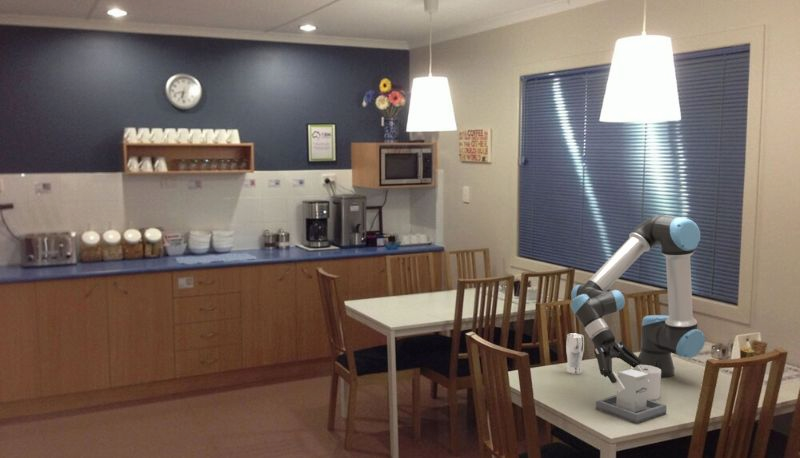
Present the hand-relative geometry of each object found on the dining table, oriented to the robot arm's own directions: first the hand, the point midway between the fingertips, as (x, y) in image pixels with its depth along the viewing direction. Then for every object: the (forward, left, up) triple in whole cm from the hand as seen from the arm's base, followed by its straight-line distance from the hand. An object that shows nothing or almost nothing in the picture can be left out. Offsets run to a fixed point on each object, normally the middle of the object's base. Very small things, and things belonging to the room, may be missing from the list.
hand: (634, 387), depth 248 cm
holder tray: (0, -1, -9) cm, 9 cm away
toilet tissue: (-18, -8, -9) cm, 22 cm away
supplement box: (0, -1, -8) cm, 8 cm away
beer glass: (-19, -42, -9) cm, 47 cm away
